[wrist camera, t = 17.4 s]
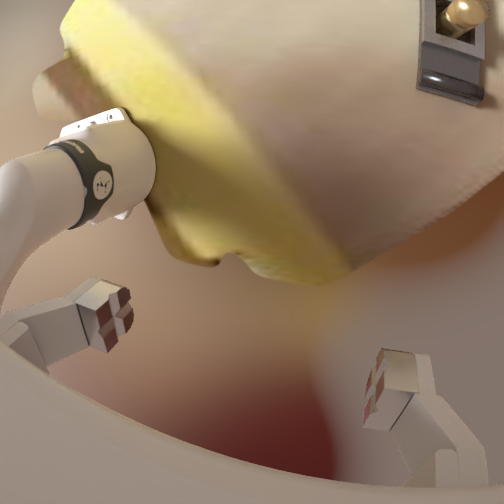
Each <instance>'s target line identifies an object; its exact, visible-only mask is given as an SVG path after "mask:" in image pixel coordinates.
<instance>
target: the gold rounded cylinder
mask: <svg viewBox="0 0 504 504" xmlns="http://www.w3.org/2000/svg"><path fill="white" fill-rule="evenodd" d="M489 15H490V10H489V7H488V5H487V3H486V1H485V0H453V2H452V3H451V4H450V5H449V6H448V7H447V8H446V9H445V10H444V11H443V12H442V13H441V14H440V15H439V16H438V17H437V19H436V27H437V29H438V31H439V32H440V33H441V34H442V35H444V36H447V37H450V38H453V39H456V38H458V37H460V36H461V35H463V34H464V33H466V32H468V31H469V30H471V29H473V28H474V27H476V26H478V25H479V24H481V23H483V22H484V21H486V20H487V19H488V18H489Z"/></svg>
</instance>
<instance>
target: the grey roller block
mask: <svg viewBox="0 0 504 504" xmlns="http://www.w3.org/2000/svg"><path fill="white" fill-rule="evenodd" d="M452 2H453V0H420V34H419V57H418V72H417V84H416V89H418V90H422V91H426V92H430V93H434V94H437V95H441V96H444V97H448V98H451V99H454V100H458V101H461V102H464V103H467V104H470V105H474V106H477V101H479V102H481V101H482V100H483V97H484V88H483V87H482V86H479V76H480V61H483V60H485V21H484V22H483V23H481V24H479V25H478V26H476V27H474V28H473V29H471V30H469V31H468V32H467V43H465V42H462V41H459V40H456V39H453V38H450V37H447V36H444V35H440V34H437V33H436V5H437V6H440V7H444V8H447V7H448V6H449V5H450V4H451V3H452Z"/></svg>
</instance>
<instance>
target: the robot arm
mask: <svg viewBox="0 0 504 504" xmlns="http://www.w3.org/2000/svg"><path fill="white" fill-rule="evenodd" d="M112 115H113V118H112ZM155 172H156V164H155V157H154V153H153V149H152V147H151V144H150V142H149V141H148V139H147V137H146V136H145V135H144V133H143V132H142V131H141V130H140V129H139V128H138V127H136V126H135V125H134V124H133V123H132V122H131V121H130V119H129V117H128V115H127V114H126V112H125V110H124V109H123V108H121V107H118V108H114V109H111V110H108V111H105V112H102V113H100V114H97V115H94V116H91V117H88V118H86V119H83V120H80V121H78V122H75V123H73V124H70V125H67V126H65V127H63V129H62V131H61V134H60V138H58V139H56V140H53V141H51V142H50V144H49V146H47V147H46V148H44V149H43V150H42V151H38V152H35V153H32V154H29V155H26V156H22V157H19V158H16V159H13V160H10V161H8V162H7V163H5V164H4V165H3V166H2V167H1V168H0V312H1V307H2V304H3V301H4V298H5V295H6V293H7V290H8V288H9V286H10V284H11V282H12V280H13V278H14V277H15V275H16V273H17V272H18V270H19V269H20V267H21V266H22V265H23V263H24V262H25V261H26V259H27V258H28V257H29V256H30V255H31V254H32V253H33V252H34V251H35V250H37V249H38V248H39V247H40V246H42V245H43V244H45V243H46V242H48V241H49V240H50V239H52V238H54V237H55V236H57V235H58V234H60V233H61V232H63V231H65V230H71V229H74V228H77V227H80V226H82V225H84V224H86V223H87V222H90V223H92V224H93V225H96V224H99V223H101V222H104V221H106V220H108V219H110V218H113V217H115V218H118V219H121V220H123V219H125V218H127V217H128V216H129V215H130V213H131V211H132V209H133V207H134V206H136V205H137V204H138V203H140V202H141V201H143V200H144V199H145V198H146V197H147V195H148V194H149V192H150V191H151V189H152V186H153V183H154V179H155ZM130 299H131V296H130V291H129V289H127V288H126V287H124V286H121V285H118V284H115V283H112V282H109V281H107V280H103V279H100V278H97V277H90V278H89V279H87V280H86V281H85V282H84V283H82V284H81V285H79V286H78V287H77V288H75V289H74V290H73V291H72V292H70V293H69V294H68V295H66V296H65V297H64V298H62V297H59V298H55V299H51V300H48V301H44V302H40V303H37V304H33V305H30V306H26V307H22V308H19V309H15V310H11V311H8V312H6V313H5V314H4V315H2V316H1V317H0V504H504V483H498V484H489V481H488V472H487V463H486V456H485V449H484V447H483V446H482V445H481V443H480V442H479V441H478V440H477V438H476V437H475V436H474V435H473V434H472V432H471V431H470V430H469V429H468V427H467V426H466V425H465V424H464V423H463V421H462V420H461V419H460V418H459V417H458V415H457V414H456V413H455V412H454V411H453V409H452V408H451V407H450V406H449V405H448V404H447V402H446V401H445V400H444V399H443V398H442V397H441V396H437V395H436V388H435V381H434V375H433V369H432V364H431V358H430V356H429V355H428V354H420V353H409V352H403V351H396V350H390V349H384V348H381V350H380V351H379V353H378V356H377V360H376V361H377V364H376V366H375V367H374V368H372V370H371V372H370V375H369V378H368V381H367V384H366V390H365V399H366V400H367V402H368V403H367V405H366V407H365V409H364V416H363V427H364V428H370V429H376V430H383V431H390V432H389V434H390V436H391V438H392V439H393V441H394V443H395V445H396V447H397V449H398V451H399V453H400V455H401V457H402V459H403V461H404V463H405V465H406V466H407V469H408V471H409V473H410V474H411V477H410V478H409V479H408V480H407V481H406V482H405V483H404V484H403V485H402V486H400V487H389V486H376V485H365V484H356V483H347V482H340V481H333V480H326V479H321V478H315V477H309V476H304V475H299V474H294V473H289V472H284V471H280V470H276V469H272V468H268V467H264V466H260V465H256V464H252V463H249V462H245V461H241V460H238V459H235V458H231V457H228V456H225V455H222V454H218V453H215V452H212V451H209V450H206V449H203V448H200V447H198V446H195V445H192V444H190V443H187V442H184V441H182V440H179V439H176V438H174V437H171V436H169V435H166V434H163V433H161V432H159V431H156V430H154V429H152V428H150V427H147V426H145V425H143V424H140V423H138V422H136V421H134V420H132V419H130V418H127V417H125V416H123V415H121V414H119V413H117V412H115V411H113V410H111V409H109V408H107V407H105V406H103V405H101V404H99V403H97V402H96V401H94V400H92V399H90V398H88V397H86V396H84V395H83V394H81V393H79V392H78V391H76V390H74V389H72V388H71V387H69V386H67V385H66V384H64V383H62V382H61V381H59V380H57V379H56V378H54V377H52V376H51V375H50V373H49V371H48V369H47V366H49V365H51V364H53V363H55V362H57V361H60V360H62V359H64V358H66V357H68V356H70V355H72V354H75V353H77V352H79V351H81V350H83V349H85V348H88V347H89V346H91V347H93V348H96V349H98V350H100V351H103V352H105V353H108V352H109V351H110V350H111V349H112V348H113V347H114V346H115V345H116V344H117V343H118V336H121V335H124V334H126V333H127V332H128V331H129V329H130V328H131V325H132V323H133V319H134V313H133V308H132V307H131V305H130V304H129V300H130Z"/></svg>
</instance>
